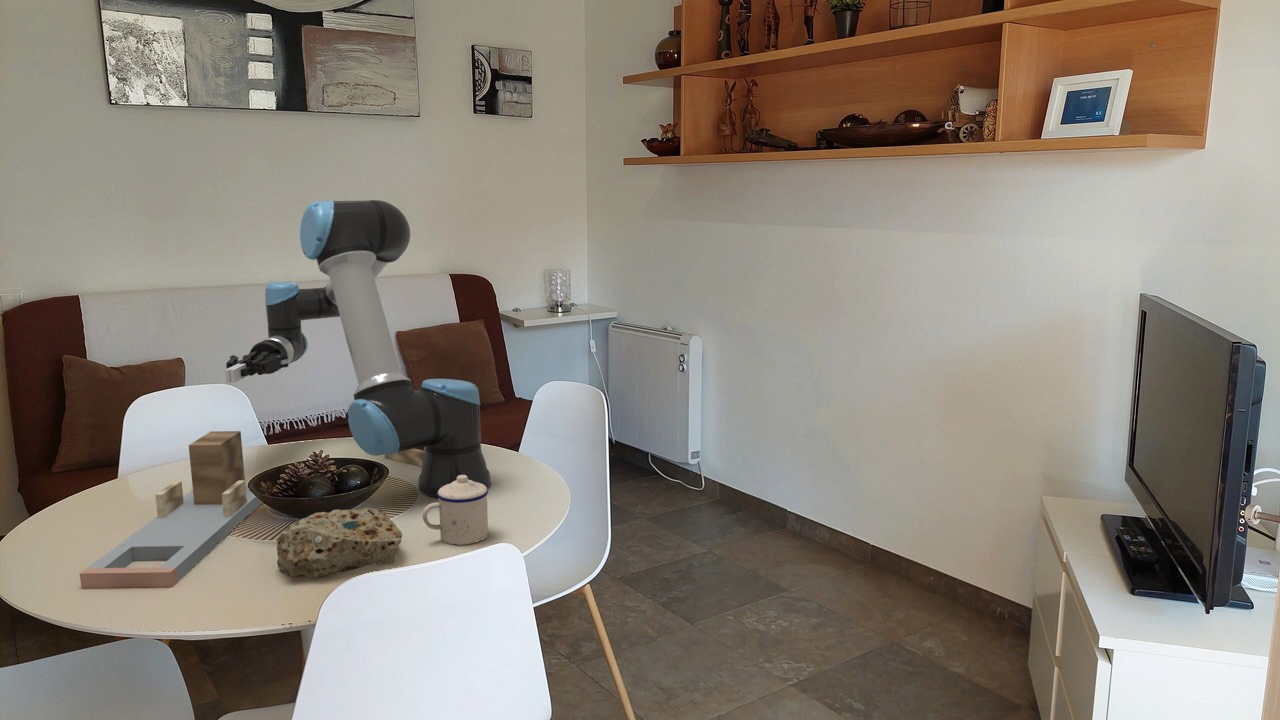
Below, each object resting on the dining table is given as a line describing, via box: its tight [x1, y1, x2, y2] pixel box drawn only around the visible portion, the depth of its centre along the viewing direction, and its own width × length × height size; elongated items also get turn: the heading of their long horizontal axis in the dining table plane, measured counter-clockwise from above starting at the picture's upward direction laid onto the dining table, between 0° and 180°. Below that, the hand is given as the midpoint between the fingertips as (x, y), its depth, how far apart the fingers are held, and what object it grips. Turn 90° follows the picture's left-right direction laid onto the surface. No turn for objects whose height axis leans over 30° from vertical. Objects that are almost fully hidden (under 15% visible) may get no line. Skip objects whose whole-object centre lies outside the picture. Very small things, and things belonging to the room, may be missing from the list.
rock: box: [276, 507, 403, 578], centre depth 158 cm, size 21×14×10 cm
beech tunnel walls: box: [154, 479, 247, 518], centre depth 176 cm, size 8×13×4 cm, turn 92°
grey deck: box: [79, 485, 263, 589], centre depth 170 cm, size 43×14×2 cm, turn 2°
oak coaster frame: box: [384, 449, 425, 467], centre depth 221 cm, size 14×16×4 cm
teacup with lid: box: [422, 475, 489, 546], centre depth 168 cm, size 12×9×12 cm
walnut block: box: [188, 430, 246, 505], centre depth 183 cm, size 10×6×12 cm, turn 2°
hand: (230, 376), depth 190 cm, fingers closed
